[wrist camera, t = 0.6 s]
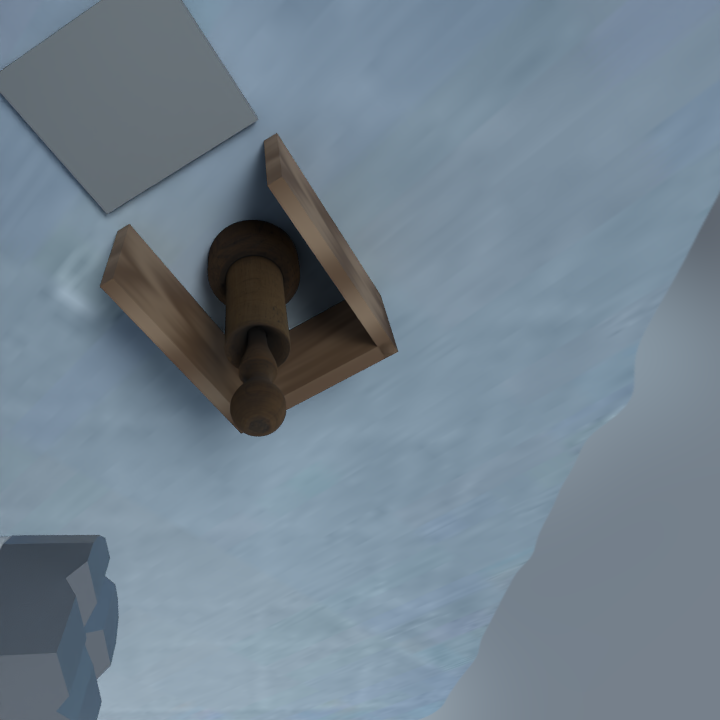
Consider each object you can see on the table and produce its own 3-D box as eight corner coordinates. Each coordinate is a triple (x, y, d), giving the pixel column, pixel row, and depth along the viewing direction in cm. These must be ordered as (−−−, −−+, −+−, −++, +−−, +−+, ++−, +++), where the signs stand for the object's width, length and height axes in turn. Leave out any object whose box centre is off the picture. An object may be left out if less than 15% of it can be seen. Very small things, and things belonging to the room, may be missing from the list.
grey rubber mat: (-8, 76, 40) (-12, 79, 40) (156, -39, 38) (155, -38, 38) (108, 210, 46) (107, 214, 46) (257, 117, 44) (257, 120, 43)
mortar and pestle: (315, 271, 51) (344, 434, 37) (245, 314, 53) (246, 487, 38) (263, 202, 47) (272, 354, 33) (189, 250, 49) (167, 416, 34)
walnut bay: (117, 231, 47) (99, 286, 41) (276, 133, 45) (282, 176, 39) (241, 371, 56) (241, 433, 50) (380, 295, 53) (398, 351, 47)
